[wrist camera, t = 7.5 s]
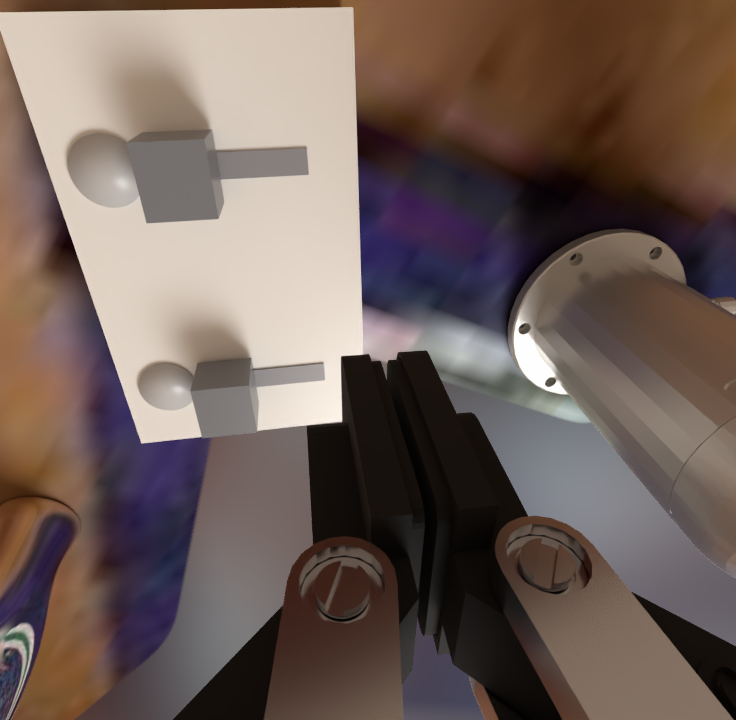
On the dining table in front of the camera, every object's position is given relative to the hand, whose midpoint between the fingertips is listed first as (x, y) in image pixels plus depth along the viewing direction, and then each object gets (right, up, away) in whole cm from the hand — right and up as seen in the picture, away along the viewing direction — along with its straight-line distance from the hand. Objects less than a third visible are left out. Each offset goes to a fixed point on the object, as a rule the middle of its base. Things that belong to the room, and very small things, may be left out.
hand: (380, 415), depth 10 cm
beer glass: (-26, -11, +29) cm, 40 cm away
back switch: (-8, 0, +19) cm, 21 cm away
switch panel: (-8, +8, +19) cm, 22 cm away
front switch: (-9, +10, +13) cm, 18 cm away
